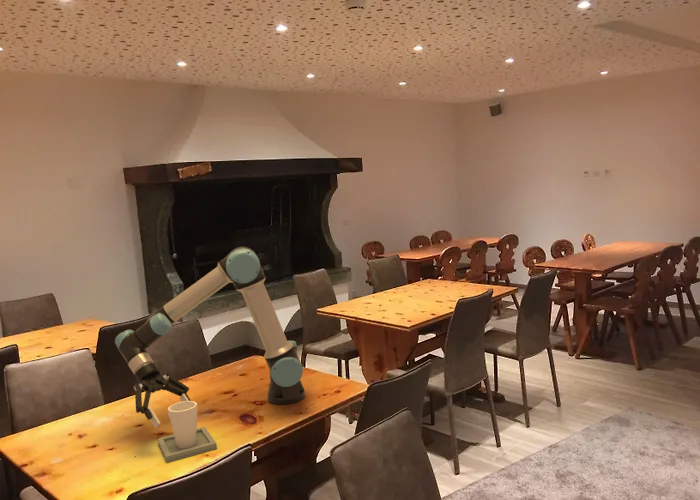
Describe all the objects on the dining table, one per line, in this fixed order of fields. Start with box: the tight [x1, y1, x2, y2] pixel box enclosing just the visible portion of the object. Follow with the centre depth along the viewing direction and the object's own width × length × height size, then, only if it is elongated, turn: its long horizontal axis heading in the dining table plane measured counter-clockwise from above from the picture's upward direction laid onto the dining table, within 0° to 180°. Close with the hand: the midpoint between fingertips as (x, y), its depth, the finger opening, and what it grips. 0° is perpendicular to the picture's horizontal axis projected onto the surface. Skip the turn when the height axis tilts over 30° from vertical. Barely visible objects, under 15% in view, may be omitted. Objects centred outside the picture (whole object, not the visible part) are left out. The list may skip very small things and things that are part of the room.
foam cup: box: [167, 400, 199, 448], centre depth 190 cm, size 10×9×13 cm
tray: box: [157, 426, 218, 464], centre depth 191 cm, size 16×16×2 cm
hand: (175, 418), depth 192 cm, fingers open, 13 cm apart
